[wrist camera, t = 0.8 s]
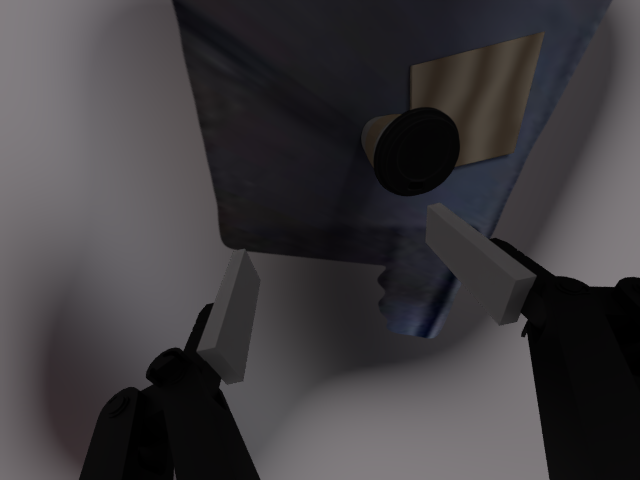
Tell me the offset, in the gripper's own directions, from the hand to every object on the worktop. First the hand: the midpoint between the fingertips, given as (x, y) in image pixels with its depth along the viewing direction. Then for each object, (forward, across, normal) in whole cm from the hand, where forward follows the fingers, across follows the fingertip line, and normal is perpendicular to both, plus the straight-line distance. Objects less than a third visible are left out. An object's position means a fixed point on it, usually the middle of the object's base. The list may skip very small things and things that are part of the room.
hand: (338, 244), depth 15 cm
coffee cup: (+27, +11, 0) cm, 29 cm away
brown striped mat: (+27, +25, 0) cm, 37 cm away
